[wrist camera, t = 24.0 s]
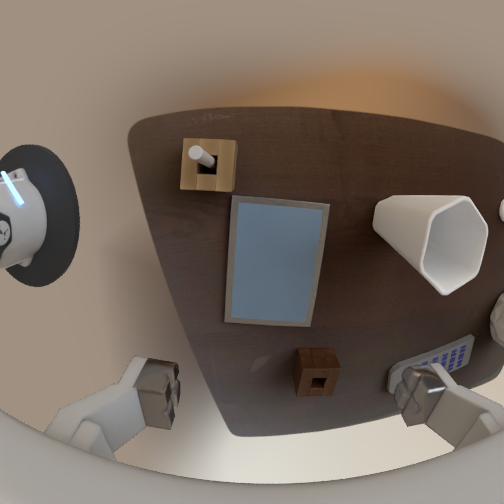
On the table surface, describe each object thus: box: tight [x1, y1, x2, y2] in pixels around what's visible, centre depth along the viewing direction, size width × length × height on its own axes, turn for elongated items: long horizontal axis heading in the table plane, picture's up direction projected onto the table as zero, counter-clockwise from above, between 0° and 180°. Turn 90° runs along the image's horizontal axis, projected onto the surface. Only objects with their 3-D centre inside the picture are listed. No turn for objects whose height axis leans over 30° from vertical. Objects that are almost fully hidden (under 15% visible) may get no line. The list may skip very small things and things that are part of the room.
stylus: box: [188, 146, 217, 169], centre depth 32 cm, size 1×1×14 cm
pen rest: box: [180, 138, 238, 192], centre depth 36 cm, size 6×6×6 cm
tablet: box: [224, 195, 330, 327], centre depth 43 cm, size 14×20×1 cm
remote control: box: [387, 334, 475, 393], centre depth 49 cm, size 8×23×2 cm, turn 101°
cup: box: [372, 195, 488, 295], centre depth 33 cm, size 11×10×17 cm
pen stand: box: [292, 348, 341, 397], centre depth 46 cm, size 6×6×6 cm
